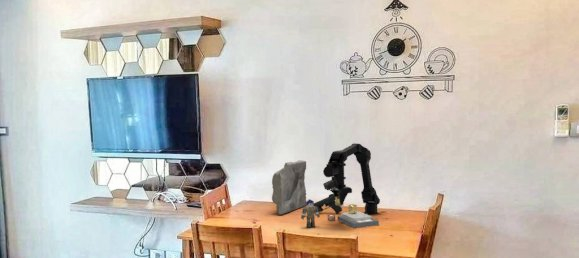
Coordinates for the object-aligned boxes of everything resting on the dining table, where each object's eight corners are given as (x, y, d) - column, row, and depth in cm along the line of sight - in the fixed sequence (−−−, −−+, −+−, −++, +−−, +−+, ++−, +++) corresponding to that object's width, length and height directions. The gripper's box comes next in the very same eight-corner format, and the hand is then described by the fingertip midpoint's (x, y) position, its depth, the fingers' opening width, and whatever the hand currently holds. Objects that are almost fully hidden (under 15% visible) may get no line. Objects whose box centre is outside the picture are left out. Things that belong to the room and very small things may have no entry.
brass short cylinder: (354, 212, 260) (354, 204, 260) (358, 213, 256) (357, 205, 256) (347, 212, 259) (347, 204, 259) (350, 214, 255) (350, 206, 254)
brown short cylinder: (333, 219, 262) (333, 213, 262) (336, 220, 258) (336, 215, 257) (326, 220, 260) (326, 214, 260) (329, 221, 256) (329, 216, 256)
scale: (361, 217, 264) (361, 210, 264) (378, 225, 246) (378, 217, 246) (337, 220, 259) (337, 213, 258) (353, 228, 241) (353, 220, 241)
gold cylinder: (333, 204, 248) (333, 196, 248) (341, 203, 250) (341, 195, 250) (337, 206, 244) (337, 197, 244) (345, 205, 246) (344, 196, 245)
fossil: (284, 216, 271) (283, 165, 269) (270, 215, 275) (269, 165, 273) (308, 205, 301) (307, 159, 300) (296, 204, 305) (295, 159, 304)
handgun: (342, 211, 273) (334, 193, 274) (317, 222, 277) (308, 204, 277) (343, 210, 275) (334, 192, 276) (317, 222, 279) (308, 203, 279)
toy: (303, 229, 241) (302, 200, 240) (300, 227, 245) (299, 199, 244) (321, 226, 245) (320, 198, 244) (317, 225, 249) (317, 197, 248)
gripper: (317, 173, 252) (318, 202, 253) (332, 178, 235) (333, 208, 235) (336, 172, 256) (336, 200, 257) (352, 176, 239) (352, 206, 239)
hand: (339, 204), depth 247 cm, fingers closed on gold cylinder, 4 cm apart
